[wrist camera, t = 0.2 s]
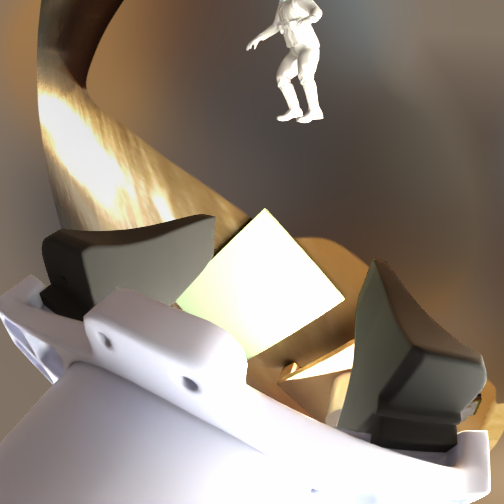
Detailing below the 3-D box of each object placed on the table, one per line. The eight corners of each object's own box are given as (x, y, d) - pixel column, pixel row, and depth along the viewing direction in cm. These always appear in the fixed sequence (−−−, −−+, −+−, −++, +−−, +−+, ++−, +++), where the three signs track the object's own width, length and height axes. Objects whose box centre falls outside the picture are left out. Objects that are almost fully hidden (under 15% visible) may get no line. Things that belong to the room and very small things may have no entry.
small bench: (327, 410, 28) (324, 426, 26) (282, 368, 28) (276, 384, 25) (422, 363, 22) (425, 380, 20) (382, 309, 22) (384, 324, 20)
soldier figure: (256, 121, 22) (222, -7, 15) (302, 109, 23) (273, -9, 16) (317, 126, 16) (272, -46, 9) (368, 114, 17) (333, -37, 10)
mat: (238, 363, 29) (236, 365, 29) (174, 296, 29) (172, 298, 29) (344, 297, 23) (344, 299, 23) (265, 207, 23) (264, 208, 22)
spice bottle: (345, 402, 24) (336, 459, 18) (324, 382, 24) (310, 440, 17) (377, 388, 22) (374, 447, 16) (356, 366, 22) (351, 426, 16)
